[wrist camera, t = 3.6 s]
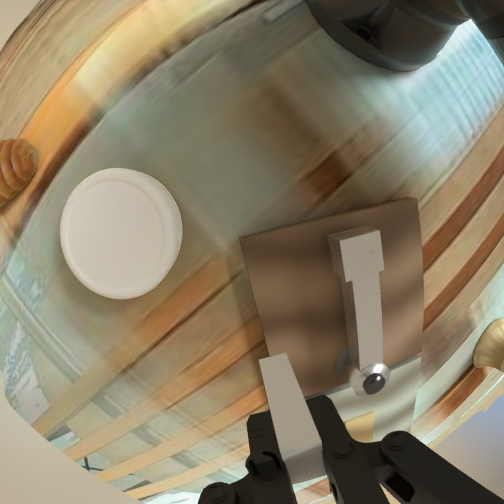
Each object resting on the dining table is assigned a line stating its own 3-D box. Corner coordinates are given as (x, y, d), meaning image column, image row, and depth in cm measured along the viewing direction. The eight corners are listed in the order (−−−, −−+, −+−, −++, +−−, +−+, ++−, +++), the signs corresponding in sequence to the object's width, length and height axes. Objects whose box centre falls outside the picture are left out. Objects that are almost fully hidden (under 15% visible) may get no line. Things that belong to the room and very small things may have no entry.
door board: (238, 237, 23) (241, 246, 19) (407, 197, 23) (432, 199, 20) (301, 473, 31) (306, 492, 27) (403, 435, 31) (414, 450, 27)
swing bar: (376, 371, 25) (392, 392, 21) (343, 384, 25) (356, 406, 21) (364, 224, 21) (387, 231, 18) (323, 235, 21) (341, 243, 18)
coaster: (63, 251, 22) (43, 260, 19) (106, 150, 21) (88, 145, 17) (152, 307, 24) (141, 324, 20) (206, 206, 22) (202, 209, 19)
